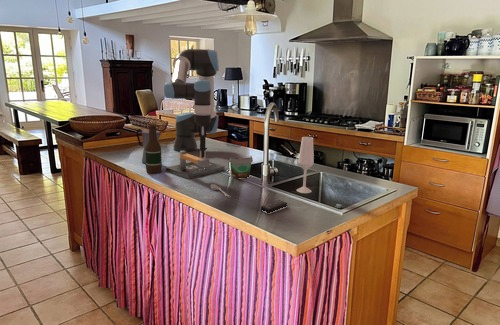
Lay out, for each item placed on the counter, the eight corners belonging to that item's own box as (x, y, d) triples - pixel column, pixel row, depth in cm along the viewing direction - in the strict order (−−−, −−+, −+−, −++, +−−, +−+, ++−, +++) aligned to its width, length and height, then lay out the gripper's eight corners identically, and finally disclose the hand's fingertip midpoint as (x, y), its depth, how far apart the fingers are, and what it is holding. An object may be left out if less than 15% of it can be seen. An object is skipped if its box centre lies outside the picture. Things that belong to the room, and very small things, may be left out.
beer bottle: (165, 170, 190) (163, 124, 184) (156, 174, 183) (154, 126, 177) (151, 169, 193) (150, 123, 186) (143, 173, 185) (140, 125, 179)
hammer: (209, 176, 174) (209, 158, 172) (200, 178, 171) (200, 159, 169) (185, 167, 188) (185, 150, 186) (177, 169, 185) (177, 151, 183)
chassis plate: (202, 163, 207) (202, 158, 206) (224, 169, 195) (224, 165, 194) (165, 171, 189) (165, 166, 189) (188, 179, 178) (188, 174, 177)
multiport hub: (287, 208, 146) (287, 202, 145) (268, 215, 138) (269, 209, 138) (278, 205, 149) (279, 199, 148) (260, 212, 141) (260, 206, 141)
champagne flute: (296, 192, 163) (299, 138, 157) (296, 187, 170) (300, 135, 164) (311, 193, 162) (315, 139, 156) (311, 188, 169) (315, 136, 163)
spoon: (216, 186, 169) (216, 183, 169) (239, 201, 152) (239, 197, 152) (208, 188, 167) (208, 184, 167) (230, 202, 150) (230, 198, 150)
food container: (234, 180, 177) (234, 160, 174) (228, 177, 182) (229, 157, 180) (256, 178, 183) (257, 158, 180) (251, 174, 188) (251, 155, 185)
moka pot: (158, 165, 200) (157, 128, 195) (132, 163, 203) (130, 126, 198) (166, 161, 209) (165, 125, 204) (140, 159, 212) (139, 124, 207)
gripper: (194, 112, 178) (195, 159, 184) (194, 116, 165) (194, 167, 171) (210, 112, 179) (210, 159, 185) (211, 116, 166) (211, 166, 173)
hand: (202, 163), depth 178 cm, fingers closed
